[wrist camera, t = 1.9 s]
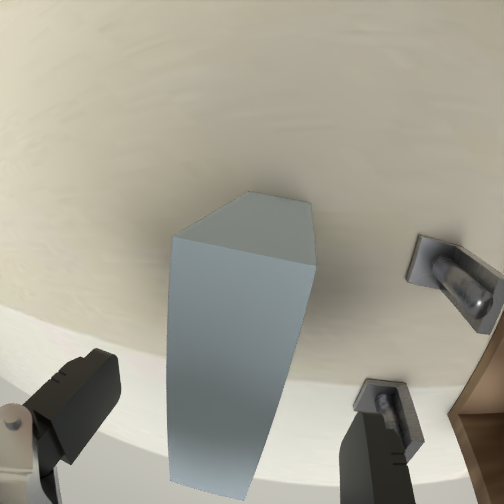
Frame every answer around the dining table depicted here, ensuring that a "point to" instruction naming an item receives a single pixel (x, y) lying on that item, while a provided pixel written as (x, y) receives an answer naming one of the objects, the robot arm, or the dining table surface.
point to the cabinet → (484, 422)
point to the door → (233, 335)
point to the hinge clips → (468, 304)
